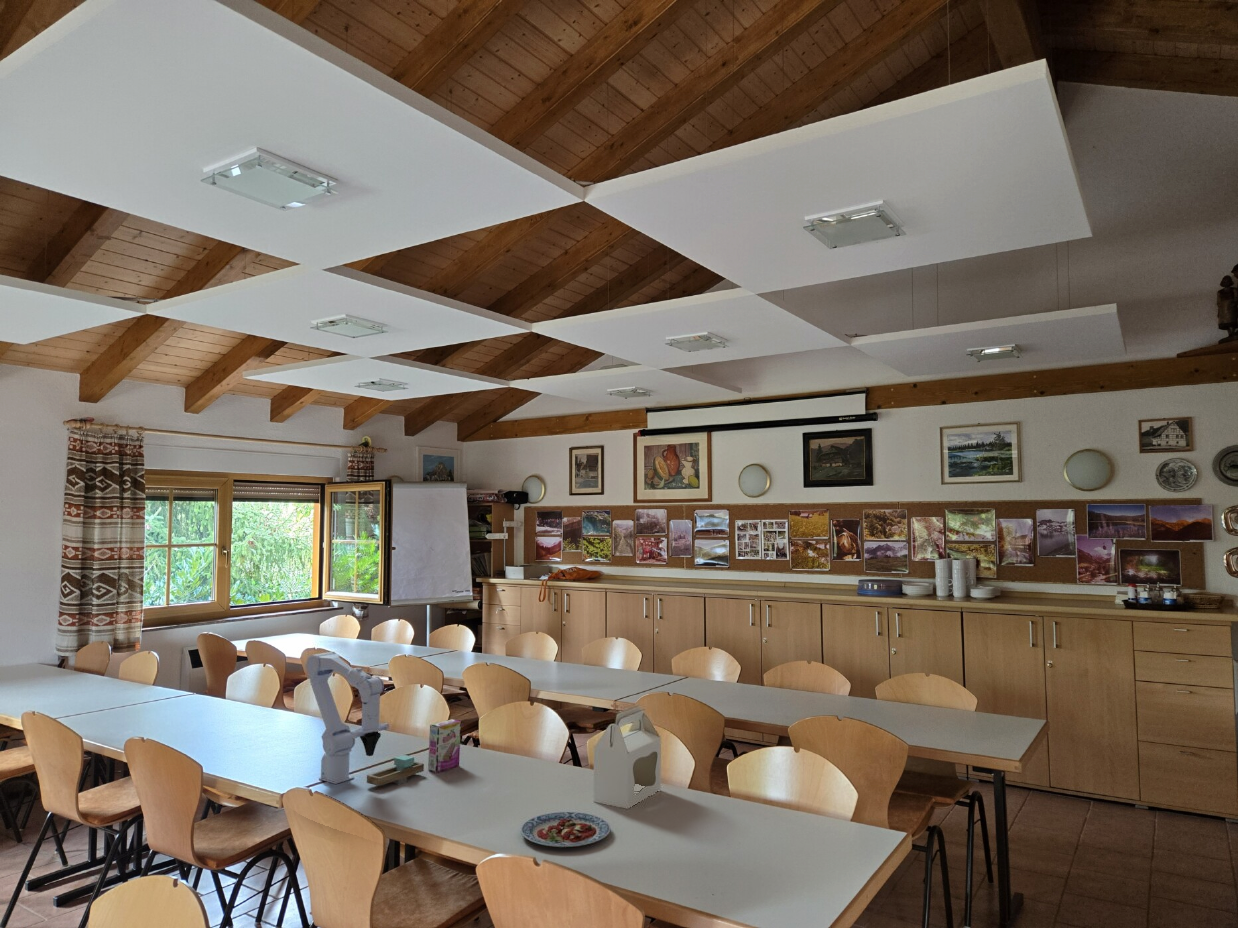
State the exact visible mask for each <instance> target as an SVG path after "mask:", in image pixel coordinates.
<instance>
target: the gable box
mask: <svg viewBox="0 0 1238 928" xmlns="http://www.w3.org/2000/svg"><path fill="white" fill-rule="evenodd" d="M645 710H646V709H645V708H644V709H642V706H641V705H639V704H638V705H636V706H633V707H631V708H628V709H625V710H623V711H621V712H617V713H615V716H614V723H611V724H609V725H608V726H607V727H606V729H605V731H604V732H603V733H602V735H601V736H600V738H599V739H598V741H597V742H596V744H595V745H594V746H593V789H592V790H593V792H592V793H593V794H592V795H593V797H592V798H593V803H597V804H601V805H605V804H606V805H605V806H610V805H612V806H611V807H614V806H617V807H616V808H619V807H623V808H628V809H627V810H630V809H631V808H633V807H634V806H633V805H635V804H637V803H638V802H640V803H641V801H642V800H643V801H645V800H646V799H645V798H647V797H648V796H650V797H652V796H653V795H652V794H654V793H655V792H657V791H658V790H660V789H662V787H661V786H662V785H661V783H662V782H661V780H662V775H661V774H662V769H661V768H662V738H661V736H660V735H659V733H658V731H657V730H656V729H655V727H654V725H653V723H652V722H651V720H650V719H649V717H648V716H647V715H646V713H645ZM629 724H631V726H630V727H629V730H628V731H627V732H625V733H622V730H621V728H622V727H625V726H626V725H629ZM635 784H639V785H641V786H645V787H644V788H642V789H641V790H640V791H634V786H635ZM660 791H661V790H660ZM634 792H639V793H634ZM657 793H658V792H657ZM635 794H636V795H635ZM655 794H656V793H655ZM655 794H654V795H655ZM651 795H652V796H651ZM648 798H649V797H648ZM648 798H647V799H648ZM644 799H645V800H644ZM643 801H642V802H643ZM638 804H639V803H638ZM638 804H637V805H638ZM632 806H633V807H632ZM635 806H636V805H635ZM630 807H631V808H630ZM623 808H622V809H623ZM629 808H630V809H629Z"/></svg>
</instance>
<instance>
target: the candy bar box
mask: <svg viewBox="0 0 1238 928" xmlns="http://www.w3.org/2000/svg"><path fill="white" fill-rule="evenodd" d="M461 727H462V721H461V720H458V719H453V718H452V719H449V720H445V721H440V722H435V723H431V724H429V736H428V737H429V739H428V740H429V741H428V765H427V766H428V767H427V768H428V769H427V770H428V771H429V772H432V773H435V774H437V773H441V772H443V771H446V770H450V769H453V768H456V767H457V768H458V767H460V753H461V752H460V751H461V749H460V748H461Z"/></svg>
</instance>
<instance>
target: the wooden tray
mask: <svg viewBox="0 0 1238 928" xmlns="http://www.w3.org/2000/svg"><path fill="white" fill-rule="evenodd" d="M424 770H425V764H424V763H422V762H418V761H414V764H413V765H412V767H409V768H408V767H407V768H406V769H403V770H400V771H397V772H396V765H394V766H391V767H388V768H386V769H382V770H379V771H377V772H373V773H370V774H366V784H368V785H369V784H370V785H374V786H376V787H380V786H384V785H386V784H389V783H392V784H395V785H401V784H404V783H407V782H408V777H410V776H413V775H416V774H419V773H422V772H424Z"/></svg>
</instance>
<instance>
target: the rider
mask: <svg viewBox="0 0 1238 928" xmlns="http://www.w3.org/2000/svg"><path fill="white" fill-rule="evenodd" d="M414 762H415V757H414V756H411V755H407V754H402V755H398V756H396V757H394V759H393V765H394V766H396V772H397V771H400V770H403V769H406V768H407V767H408V768H409V767H412V765H413V764H414Z"/></svg>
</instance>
